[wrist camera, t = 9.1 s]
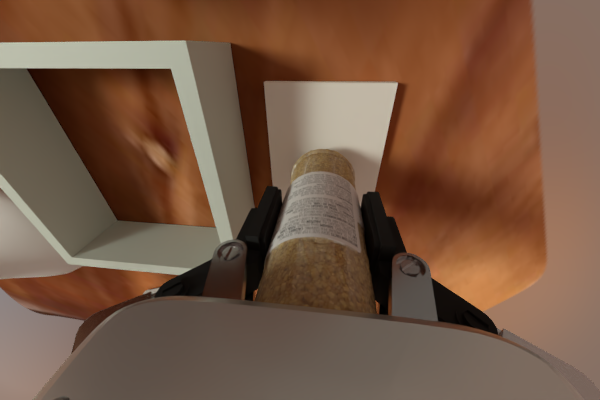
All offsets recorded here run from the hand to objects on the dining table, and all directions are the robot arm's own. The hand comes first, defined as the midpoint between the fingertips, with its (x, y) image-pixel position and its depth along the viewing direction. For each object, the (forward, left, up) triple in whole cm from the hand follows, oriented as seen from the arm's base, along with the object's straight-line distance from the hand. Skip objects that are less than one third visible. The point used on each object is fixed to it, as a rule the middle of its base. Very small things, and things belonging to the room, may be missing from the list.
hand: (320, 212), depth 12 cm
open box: (0, -14, -6) cm, 15 cm away
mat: (0, 0, -6) cm, 6 cm away
